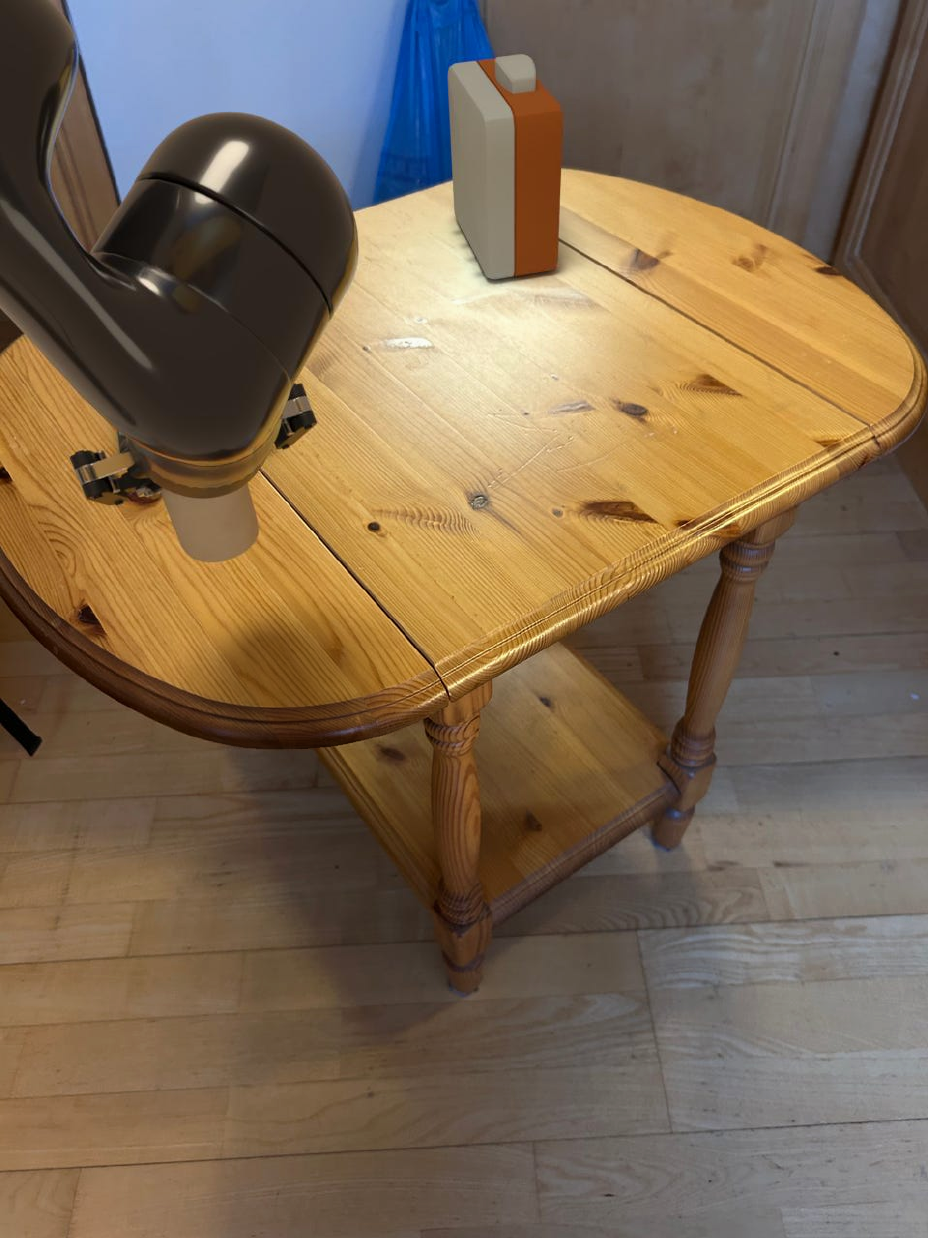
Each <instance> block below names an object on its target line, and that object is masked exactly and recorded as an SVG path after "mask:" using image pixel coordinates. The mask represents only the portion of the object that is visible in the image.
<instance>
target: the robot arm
mask: <svg viewBox="0 0 928 1238" xmlns="http://www.w3.org/2000/svg"><path fill="white" fill-rule="evenodd" d="M73 30H74V29H73V28H72V26H71V24H70V22H69V21H68V19H67V18H66V16H65V14H64V13H63V12H62V11H61V9H60V8H59V7H58V6H57V5H56V4H55V2H53V0H0V310H1V311H2V312H3V313H4V314H5V315H6V316H7V317H8V318H9V319H10V320H11V321H12V322H13V323H14V324H15V325H16V326H17V327H18V329H19V330H20V331H21V332H22V333H23V334H24V335H25V336H26V337H27V338H28V339H29V340H30V341H31V343H32V344H33V345H34V346H35V347H36V348H37V349H38V351H39V352H40V353H41V354H42V355H43V356H44V357H45V358H46V359H47V360H48V362H49V363H50V364H51V365H52V366H53V367H54V368H55V370H56V371H58V373H59V374H60V375H61V376H62V378H64V379H65V380H66V382H67V383H68V384H69V385H70V386H71V387H72V388H73V389H74V390H75V391H76V392H77V394H78V395H79V396H80V397H81V398H82V399H83V400H84V401H85V402H87V404H88V405H89V406H90V407H91V408H92V409H93V410H95V412H96V413H98V415H100V417H102V418H103V419H104V420H105V421H106V422H107V423H108V424H109V425H110V426H111V427H113V428H114V429H115V430H116V431H117V430H118V431H119V432H120V433H122V434H123V435H124V436H126V439H125V440H124V441H123V442H122V443H121V445H120V448H119V447H118V449H119V451H120V452H119V453H117V454H115V455H114V454H113V455H111V456H108V457H107V454H106V452H105V450H103V449H102V450H101V449H100V450H98V451H96V452H95V451H93V450H84V449H81V450H77V451H75V452H74V454H72V455H70V456H69V460H70V462H71V465H72V468H73V470H74V473H75V474H76V477H77V479H78V483H79V484H80V487H81V489H82V491H83V494H84V496H85V498H86V500H87V501H91V502H94V503H97V504H103V505H105V506H106V505H107V506H114V505H115V506H116V507H118V506H120V505H123V504H125V503H124V502H126V501H128V500H129V496H128V493H131V492H136V494H137V497H138V498H142V497H144V498H149V497H150V499H151V501H153V500H156V499H159V498H161V497H162V493H163V492H166V491H170V492H172V493H175V494H177V495H181V496H184V497H189V498H197V499H208V498H216V497H221V496H224V495H227V494H230V493H232V492H234V491H236V490H238V489H240V488H241V487H243V486H244V485H246V484H247V483H248V484H249V482H250V481H251V480H252V479H254V477H255V476H257V474H258V473H259V472H260V470H261V468H262V467H263V465H264V463H265V462H266V459H267V458H268V457H269V454H270V451H272V448H273V446H275V449H276V450H282V451H285V450H288V449H290V448H291V446H292V445H294V444H296V443H297V442H298V441H299V440H300V439H302V438H303V436H305V434H307V433H308V432H310V430H312V429H313V428H314V427H315V426H317V425H318V424H319V422H318V420H317V417H316V415H315V413H314V409H313V407H312V404H311V401H310V400H309V397H308V394H307V391H306V389H305V386H304V385H303V383H302V382H301V383H296V382H297V379H298V378H299V376H300V375H301V372H302V371H303V369H304V367H305V366H306V365H307V362H308V360H309V359H310V357H311V355H312V354H313V352H314V350H315V348H316V346H317V345H318V343H319V342H320V339H321V338H322V336H323V335H324V334H325V331H326V329H327V328H328V326H329V323H330V322H331V321H332V319H333V317H334V315H335V314H336V312H337V310H338V308H339V306H340V305H341V303H342V302H343V300H344V298H345V296H346V294H347V292H348V290H349V289H350V286H351V285H352V282H353V280H354V278H355V275H356V271H357V267H358V263H359V254H360V245H359V244H360V243H359V232H358V227H357V226H358V225H357V221H356V217H355V213H354V210H353V208H352V204H351V202H350V199H349V197H348V195H347V192H346V190H345V188H344V187H343V185H342V183H341V182H340V179H339V178H338V177H337V175H336V173H335V172H334V170H333V169H332V167H331V166H330V165H329V163H328V162H327V161H326V160H325V158H323V156H322V155H321V154H320V153H319V152H318V151H317V150H316V149H315V148H314V147H313V146H312V145H311V144H309V143H308V142H307V141H306V140H305V139H303V138H302V137H301V136H299V135H298V134H296V133H295V132H294V131H292V130H291V129H289V128H287V127H285V126H283V125H281V124H279V123H278V122H275V121H273V120H271V119H268V118H266V117H263V116H259V115H256V114H253V113H247V112H240V111H220V112H212V113H206V114H202V115H198V116H196V117H194V118H192V119H189V120H187V121H185V122H183V123H181V124H180V125H178V126H177V127H176V128H174V129H173V130H172V131H170V133H168V134H167V135H166V136H165V137H164V139H162V140H161V142H160V143H159V144H158V145H157V146H156V147H155V149H154V150H153V152H152V153H151V154H150V156H149V158H148V159H147V161H146V162H145V164H144V166H143V167H142V169H141V170H140V172H139V173H138V175H137V176H136V178H135V180H134V182H133V184H132V186H131V188H130V189H129V190H128V192H127V193H126V195H125V197H124V198H123V200H122V202H121V203H120V205H119V206H118V208H117V209H116V211H115V213H114V214H113V215H112V217H111V219H110V220H109V222H108V224H107V225H106V227H105V228H104V229H103V231H102V233H101V234H100V236H99V237H98V239H97V241H96V242H95V244H94V245H93V247H92V248H91V250H90V251H88V250H87V249H86V248H85V247H84V246H83V244H82V243H81V241H79V238H78V237H77V236H76V234H75V233H74V231H73V229H72V228H71V226H70V224H69V223H68V221H67V220H66V217H65V215H64V213H63V211H62V208H61V207H60V204H59V203H58V200H57V198H56V195H55V193H54V191H53V190H54V189H53V187H52V182H51V164H52V157H53V151H54V146H55V145H56V140H57V137H58V134H59V130H60V127H61V125H62V121H63V119H64V115H65V113H66V111H67V107H68V104H69V102H70V99H71V95H72V93H73V90H74V86H75V82H76V77H77V73H78V69H79V57H80V56H79V46H78V42H77V37H76V35H75V32H74V31H73ZM162 498H163V497H162Z"/></svg>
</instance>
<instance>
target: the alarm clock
mask: <svg viewBox="0 0 928 1238" xmlns="http://www.w3.org/2000/svg"><path fill="white" fill-rule="evenodd" d="M447 90H448V91H447V93H448V107H449V108H448V113H449V130H450V131H449V132H450V151H451V152H450V153H451V169H452V170H451V172H452V191H453V193H452V195H453V209H454V217H455V218H456V221H457V223H458V224H459V226H460V229H461V231H462V232H463V234H464V236H465V238H466V240H467V242H468V244H469V246H470V248H471V251H472V252H473V254H474V255H475V258H476V260H477V262H478V263H479V264H478V265H480V268H481V269H482V271H483V273H484V276H485V277H486V279H491V280H499V279H503V278H511V277H517V276H524V275H530V274H536V273H542V272H549V271H553V270H554V269H556V268H557V265H558V260H559V239H560V236H559V235H560V214H561V213H560V212H561V186H562V185H561V183H562V161H563V160H562V159H563V134H564V133H563V132H564V114H563V111H562V108H561V105H560V103H559V101H557V99H556V98H555V97H554V95H552V93H550V91H549V90H548V88H547V87H545V85H544V84H543V83H542V81H541V80H540V79H539V78H538V77H537V70H536V65H535V62H534V61H533V59H532V58H531V57H530V56H529V55H527V54H522V53H520V54H512V55H503V56H497V57H494V58H487V59H480V60H479V59H478V60H472V61H464V62H457V63H456V62H455V63H453V64H452V65H450V66H449V67H448V71H447Z"/></svg>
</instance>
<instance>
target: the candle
mask: <svg viewBox="0 0 928 1238" xmlns="http://www.w3.org/2000/svg"><path fill="white" fill-rule="evenodd" d="M162 500H163V502H164V505H165V508H166V511H167V514H168V516H169V518H170V521H171V524H172V527H173V529H174V531H175V532H174V533H175V535H176V537H177V540H178V542H179V545H180V547H181V549H182V550H183V552H184V553H185V554H186V555H187V556H188V557H190V558H191V559H193V560H196V561H199V562H202V563H220V562H226V561H229V560H232V559H235V558H237V557H240V556H241V555H243V554H244V553H246V552H247V551H248V550H250V549H251V548H252V546H254V545H255V543H256V541H257V540H258V537H259V534H260V525H259V520H258V516H257V512H256V509H255V505H254V501H253V498H252V495H251V490H250V486H249V482H248V483H247V484H246V485H244V486H243V487H241V488H240V489H238V490H236V491H234V492H232V493H230V494H227V495H224V496H221V497H216V498H208V499H197V498H189V497H184V496H181V495H177V494H175V493H172V492H170V491H166V492H163V493H162Z"/></svg>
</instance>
